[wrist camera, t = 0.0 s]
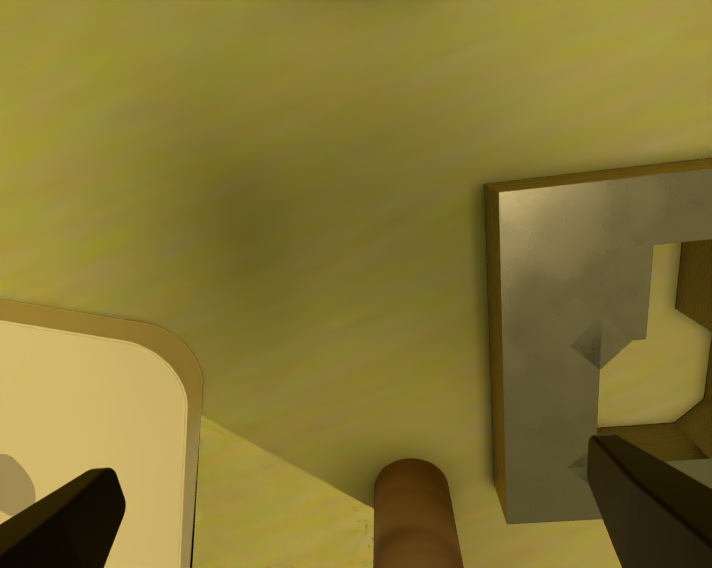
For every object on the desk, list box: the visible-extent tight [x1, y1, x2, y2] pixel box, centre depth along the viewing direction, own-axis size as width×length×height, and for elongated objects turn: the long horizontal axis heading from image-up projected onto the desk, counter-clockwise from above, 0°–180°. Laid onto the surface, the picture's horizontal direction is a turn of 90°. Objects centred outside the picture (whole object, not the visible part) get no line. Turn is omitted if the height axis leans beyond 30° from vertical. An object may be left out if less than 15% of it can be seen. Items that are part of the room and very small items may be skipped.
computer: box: [0, 299, 203, 568], centre depth 29 cm, size 22×22×3 cm
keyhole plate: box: [484, 158, 712, 524], centre depth 24 cm, size 18×16×3 cm
